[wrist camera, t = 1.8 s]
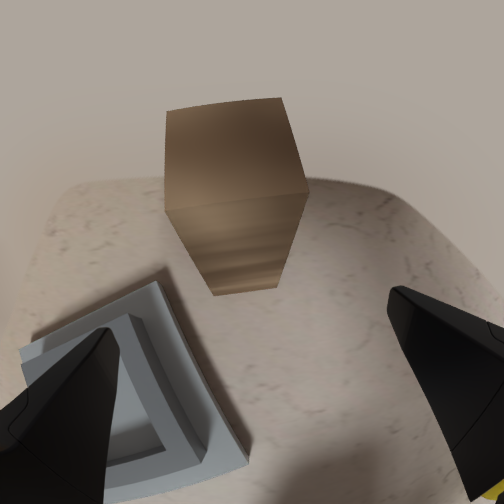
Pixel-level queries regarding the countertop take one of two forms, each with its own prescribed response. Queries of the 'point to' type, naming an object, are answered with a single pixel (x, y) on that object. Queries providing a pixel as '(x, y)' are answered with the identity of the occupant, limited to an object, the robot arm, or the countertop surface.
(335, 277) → the countertop surface
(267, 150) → the walnut column
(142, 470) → the base plate
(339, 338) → the countertop surface
